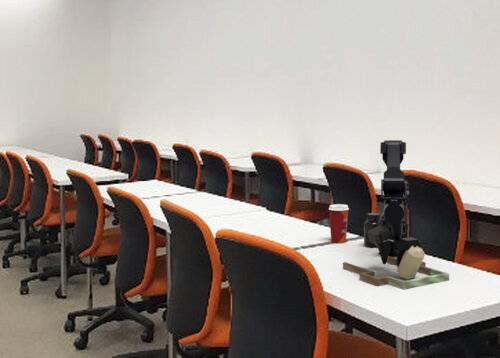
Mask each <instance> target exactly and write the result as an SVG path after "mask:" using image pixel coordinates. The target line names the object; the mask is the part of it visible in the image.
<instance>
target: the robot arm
mask: <svg viewBox="0 0 500 358" xmlns="http://www.w3.org/2000/svg"><path fill="white" fill-rule="evenodd" d="M379 144H380V146H379V147H380V150H379V151H380V153H379V154H380V155H382V161H383V163H384V165H385V166H386V170H385V171H384V172H383V179H380V200H382V201H383V212H382V214H381V219H380V225H379V226H376V227H374V228H373V229H371V230H368V231H367V233H366V239H369V240H370V242H372V243H374V244H375V245H376V246H377V248H376V249H377V250H378V254H379V256H380V259H381V263H382V264H383V265H386V264H387V263H386V262H387V259H388V256H390V257H393V258H397V266H396V268H397V269H398V267H399V264H400V262H401V260H402V258H403V256H404V253H405V251H406V250H407V251H408V250H409V249H410V248H411V247H412V246H413V247H414V248H415V247H416V246H418V247H419V248H421V247H422V246H421V240H420V239H419V238H415V237H412V236H410V237H407V224H406V223H407V221H406V219H404V217H405V210H404V201H407V200H408V198H409V197H410V188H409V187H410V186H409V184H410V183H409V182H408V180H407V179H405V172H404V171H403V170H402V169H401V164H402V163H403V161H404V155H406V154H407V143H406V142H404V141H403V140H399V139H397V140H395V139H394V140H389V139H387V140H386V139H385V140H383V142H382V141H381V142H380V143H379ZM397 269H396V270H397Z"/></svg>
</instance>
